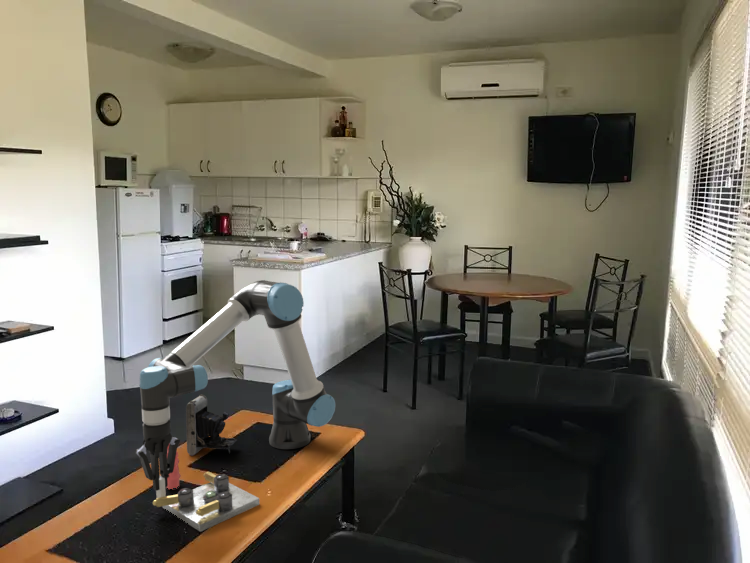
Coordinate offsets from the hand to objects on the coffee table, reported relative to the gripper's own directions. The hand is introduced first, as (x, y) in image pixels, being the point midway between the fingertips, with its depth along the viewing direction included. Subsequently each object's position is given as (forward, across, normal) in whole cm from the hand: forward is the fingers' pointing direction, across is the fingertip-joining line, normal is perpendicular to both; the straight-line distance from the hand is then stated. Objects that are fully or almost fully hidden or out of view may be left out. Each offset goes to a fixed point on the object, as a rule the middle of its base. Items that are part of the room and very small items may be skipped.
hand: (161, 498), depth 181 cm
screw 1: (+1, -2, +3) cm, 4 cm away
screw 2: (+1, -17, +2) cm, 17 cm away
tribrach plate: (+4, -11, +8) cm, 14 cm away
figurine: (+4, -10, -12) cm, 16 cm away
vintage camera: (+4, -34, -26) cm, 43 cm away
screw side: (+1, -8, +16) cm, 17 cm away
